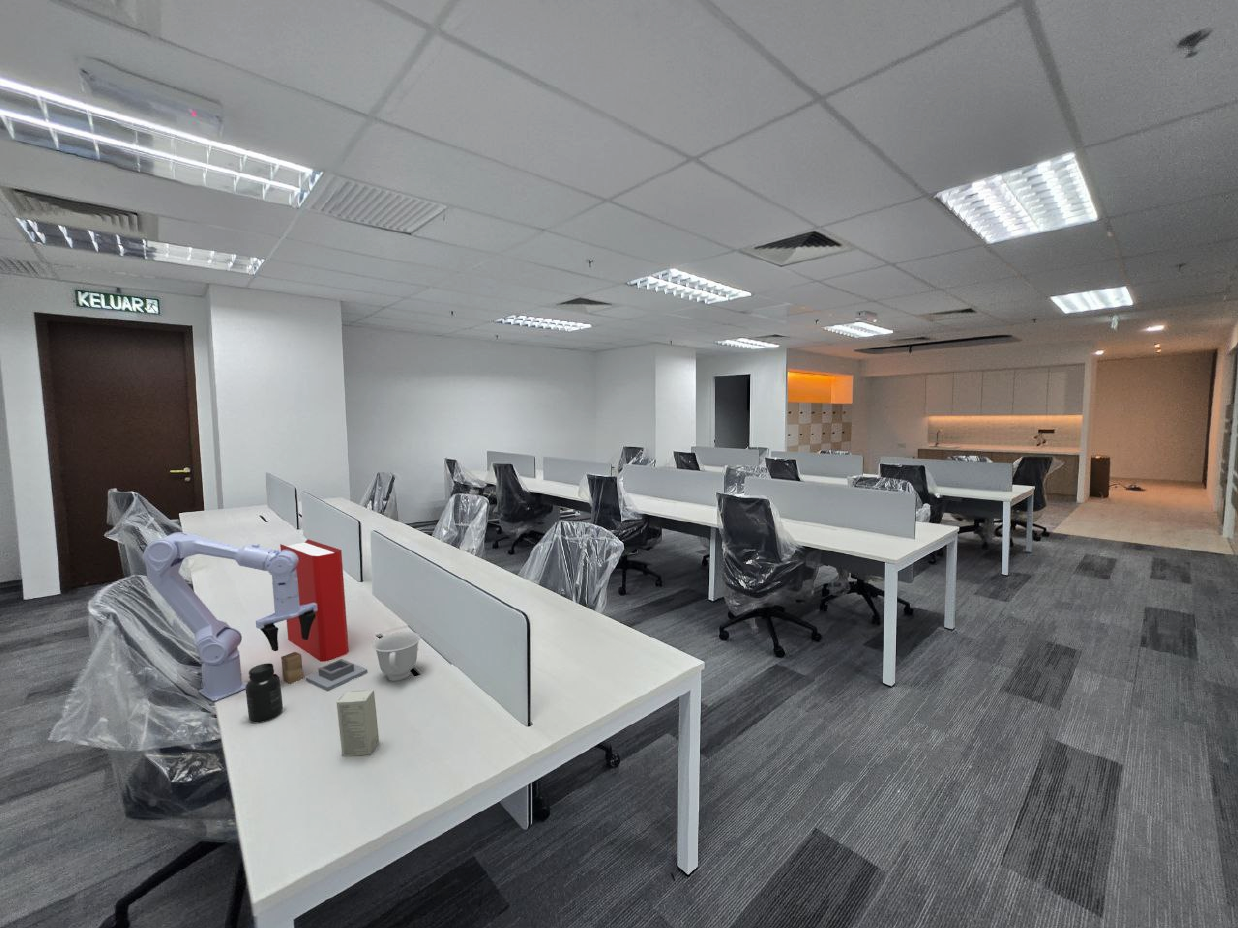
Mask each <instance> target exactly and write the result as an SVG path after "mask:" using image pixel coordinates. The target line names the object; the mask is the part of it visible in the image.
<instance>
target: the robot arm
mask: <svg viewBox="0 0 1238 928" xmlns="http://www.w3.org/2000/svg"><path fill="white" fill-rule="evenodd" d="M195 555H205V556H209V557H216V558H222V559H227V560H228V559H229V560H234V561H235V562H236V563H237V565H238V566H240V567H245V568H250V569H253V570H258V571H264V572H268V574H269V575H271V578H272V580H271V581H272V582H271V584H272V594H273V606H274V612H273V613H271V614H269V615H266V616H265V617H262V618H260V619H256V620H255V626H256V627H255V628H256V629H260V631H261V632H262V633H263V634H264V636H265V638H266V639H267V641H268V643H269V646H270V649H271V651H274V652H278V651H279V640H278V634H279V627H277V626H276V625H275V624H278V623H280V622H283V621H284V622H285V621H287V619H290V618H293V617H296V616H298V617H299V620H300V625H301V636H302V639H304V640H308V638H309V632H310V628H311V625H312V623H313V621H314V619H315V617H316V613H314V612H313V611H317V610H318V609H317V604H316V603H311V604H307V605H302V606H300V603H299V590H298V578H297V571H296V569H294V568H295V567H296V566H297V564H298V561H299V559H298V556H297V555H296V554H295V553H294V552H292V551H290V550H283V551H281V550H280V549H279V548H274V549H271V548H267V547H262V546H260V544H259V543H256V542H254V543H253V544H246V545H244V546H242V547H240V546H237V545H234V544H230V543H226V542H222V541H218V540H214V539H210V538H207V537H203V536H200V535H197V534H193V533H189V534H188V533H185V532H182V531H181V532H180V531H178V532H173V533H170V534H169V535H167V536H165V537H164V536H163V537H162V538H159V539H155V540H151V542H149V543H148V545H146V547H145V550H144V551H143V554H142V556H141V558H142V560H143V561H144V563H145V567H146V569H145V570H146V576H147V577H146V578H147V580H148V582H149V584H151V585H152V587H153V588H154V589H155V590H156V591H157V593H158V594H159V595H160V596H161V597H162V598H163V600H164V601H165V602H166V603H167V604H168V606H170V608H171V609H172V610H173V611H174V613H175V614H176V615H177V616H178V617H179V618H180V619H181V621H182V622H183V623H184V624H185V625H186V626H187V627H188V628H189V630H190V631H191V632H192V633H193V634H194V635H193V636H194V647H195V648H196V649H197V651H198V657H199V660H201V662H203V663H202V664H201V670H200V672H201V678H202V679H201V681H202V689H200V690H198V693H199V694H201V695H202V696H204V697H205V698H206V699H207V698H208V699H209V700H210V701H212V702H216V699H217V701H219V700H222V699H224V698H226V697H229V696H231V695H234V694H236V693H239V692H241V691H244V690H245V687H246V684H247V683H246V682H244V681H243V678H242V677H243V676H242V668H241V657H240V650H238V646H240V645H241V642H242V640H243V637H242V634H241V632H240V631H239V630H238V629H236V628H234V627H231V626H230V625H229V624H228V622H226V621H223V620H219V619H217V617H216V616H215V615H214V614H213V613H212V611H211V610H210V609H209V608H208V606H206V604H205V603H204V602H203V600H202V599H201V598H200V597H199V596H198V595H197V593H196V592H195V591H194V589H192V587H191V586H190V585H189V584H188V583H187V581H186V580H185V579H184V578H183V577H182V576H181V575H180V573H179V571H180V568H181V566H182V564H183V561H184V560H185V559H186V558H188V557H191V556H195ZM293 569H294V570H293Z"/></svg>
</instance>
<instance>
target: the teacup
mask: <svg viewBox="0 0 1238 928" xmlns="http://www.w3.org/2000/svg"><path fill="white" fill-rule="evenodd" d="M420 640H421V635H420V634H419V633H416V632H413V631H401V632H400V631H399V632H394V633H390V634H387V635H385V636H382V637H380V638H379V639H377V640H376V641H375V642H374V643H373V645H372V648H373V650H375V651H376V656H377V659H378V660H377V661H378V664H379V667H380V670H381V672H382V673H383V674H384V675H386V676H387V679H389V680H390V681H401V680H405V679H406V678H408V677H409V676H410V675H411V670H412V669H414V667H415V666H416V663H417V659H418V646H419V642H420ZM389 680H388V681H389Z"/></svg>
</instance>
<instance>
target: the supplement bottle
mask: <svg viewBox="0 0 1238 928" xmlns="http://www.w3.org/2000/svg"><path fill="white" fill-rule="evenodd" d="M248 673H249V674H248V675H249V676H248V678H249V680H248V681H247V683H245V684H246V687H245V689H244V690H245V697H246V705H247V713H248V714H247V715H248V719H249V721H250V723H251V722H252V723H254V722H259V723H263V721H264V722H267V720H268V721H270V720H273V719H275V718H277V717H278V716H279V715H280V714H281V713H282V711H283V709H284V706H283V695H282V686H281V678H280V676H279V675H278V674H277V673H275V668H274V664H273V663H262V664H258V665H256V666H253V667H251V668H250V669H249V671H248ZM272 718H273V719H272Z"/></svg>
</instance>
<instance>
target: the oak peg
mask: <svg viewBox="0 0 1238 928" xmlns="http://www.w3.org/2000/svg"><path fill="white" fill-rule="evenodd" d="M302 657H303V655H302V654H301V653H299V652H298V651H293V652H290V653H288V654H286V655H285V654H284V655H282V656H281V657H280V658H281V659H280V660H281V661H280V662H281V671H282V681H284V683H285V682H286V684H287V683H288V684H287V685H289V684H290V685H292V684H294V682H295V683H296V681H297V682H299V681H302V680H303V679H304V669H303V658H302ZM301 679H302V680H301Z"/></svg>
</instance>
